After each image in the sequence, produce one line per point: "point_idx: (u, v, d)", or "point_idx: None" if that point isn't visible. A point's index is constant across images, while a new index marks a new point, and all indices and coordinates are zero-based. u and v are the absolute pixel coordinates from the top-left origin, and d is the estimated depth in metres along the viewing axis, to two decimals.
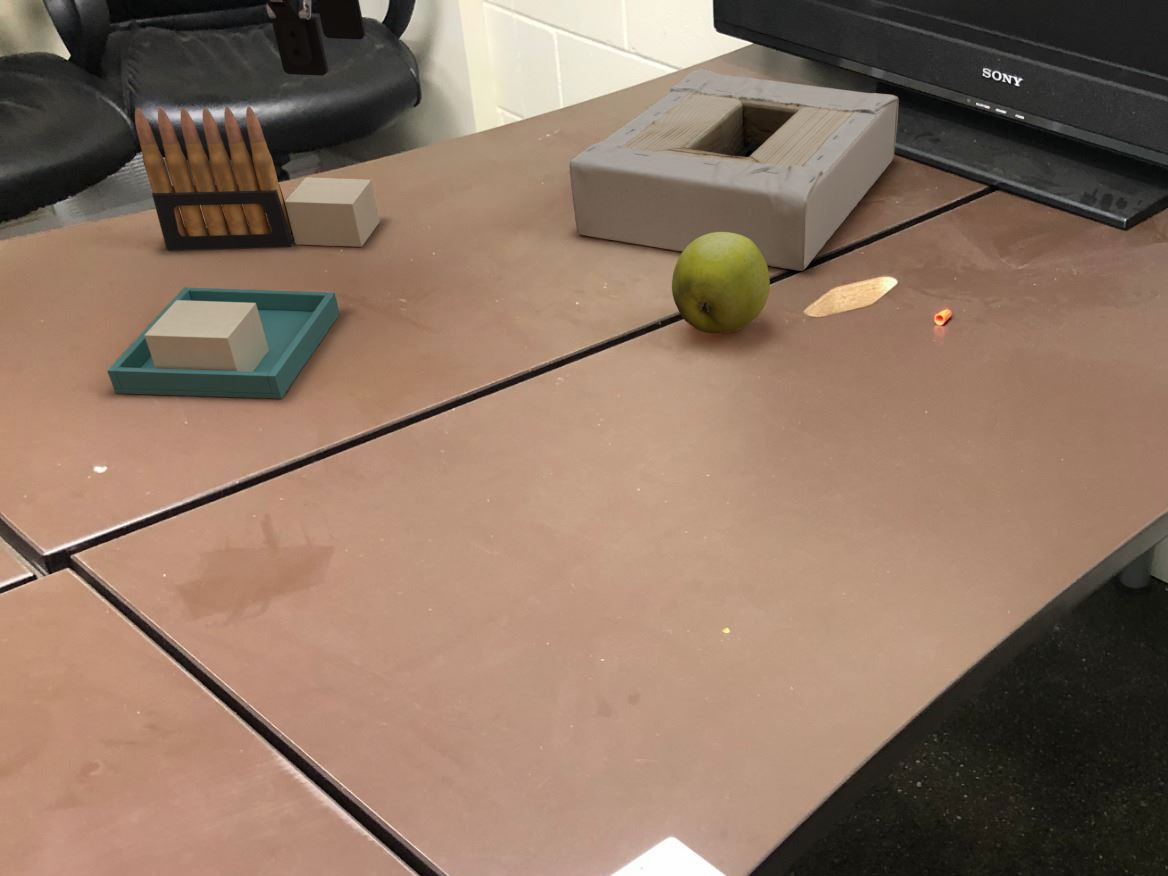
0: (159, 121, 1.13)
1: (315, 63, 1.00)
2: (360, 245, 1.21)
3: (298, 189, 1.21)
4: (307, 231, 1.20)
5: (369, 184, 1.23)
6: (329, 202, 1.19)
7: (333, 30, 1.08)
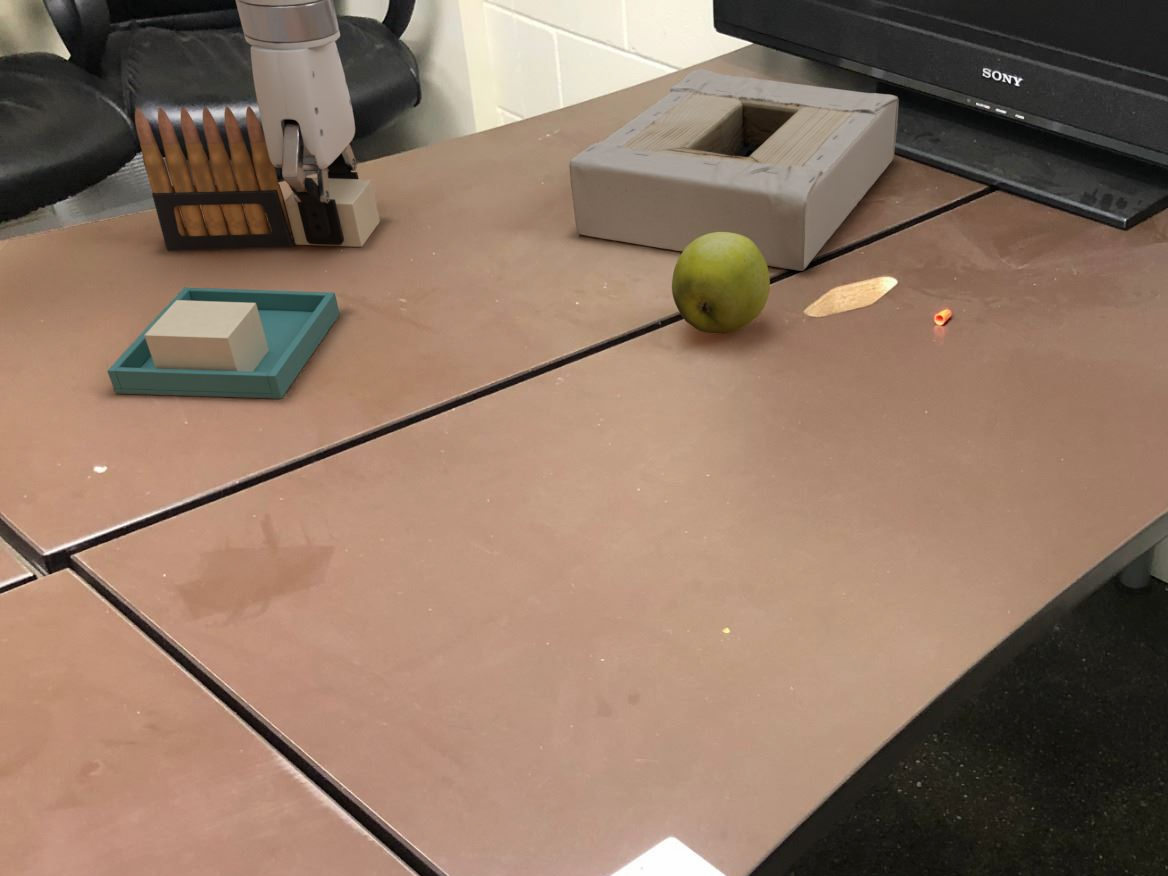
0: (159, 121, 1.13)
1: (333, 235, 1.20)
2: (360, 245, 1.21)
3: None
4: None
5: (369, 184, 1.23)
6: None
7: None
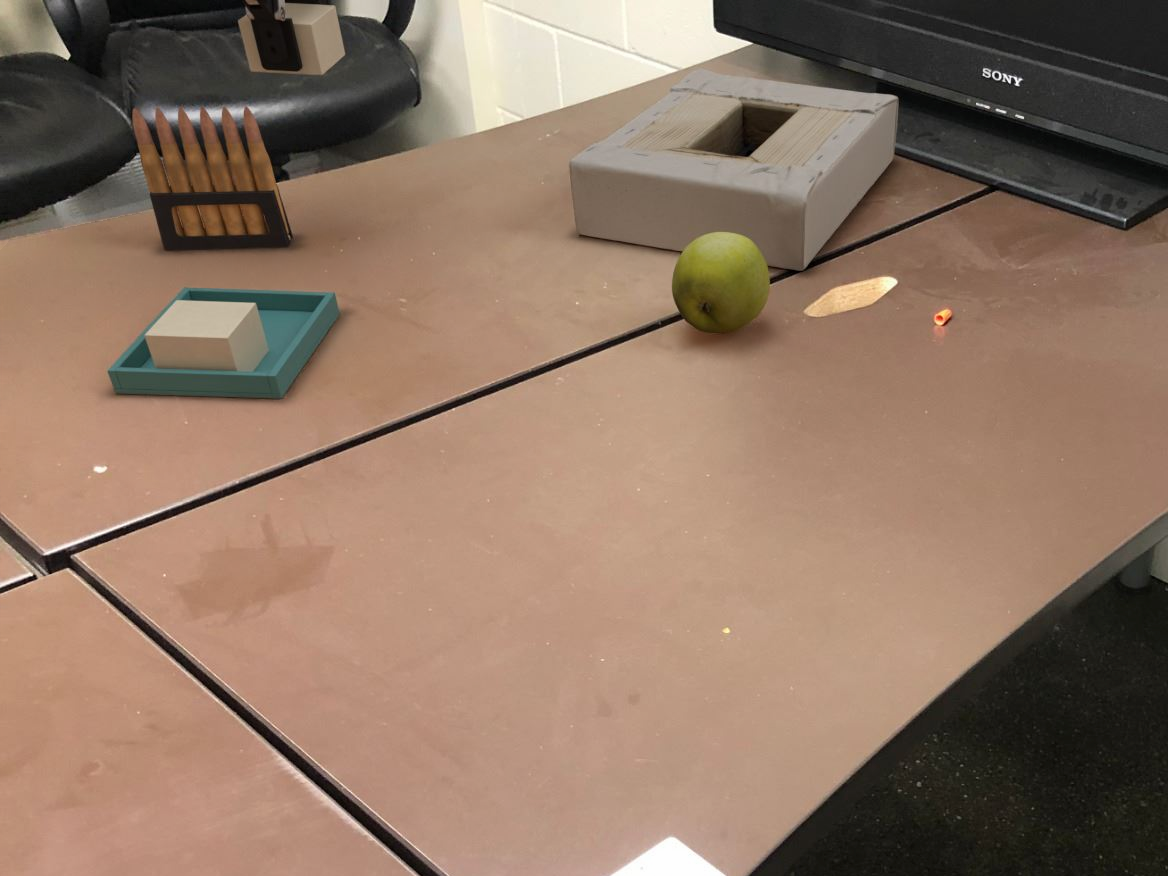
0: (156, 121, 1.13)
1: (290, 60, 1.10)
2: (320, 73, 1.12)
3: None
4: None
5: (333, 9, 1.13)
6: None
7: None
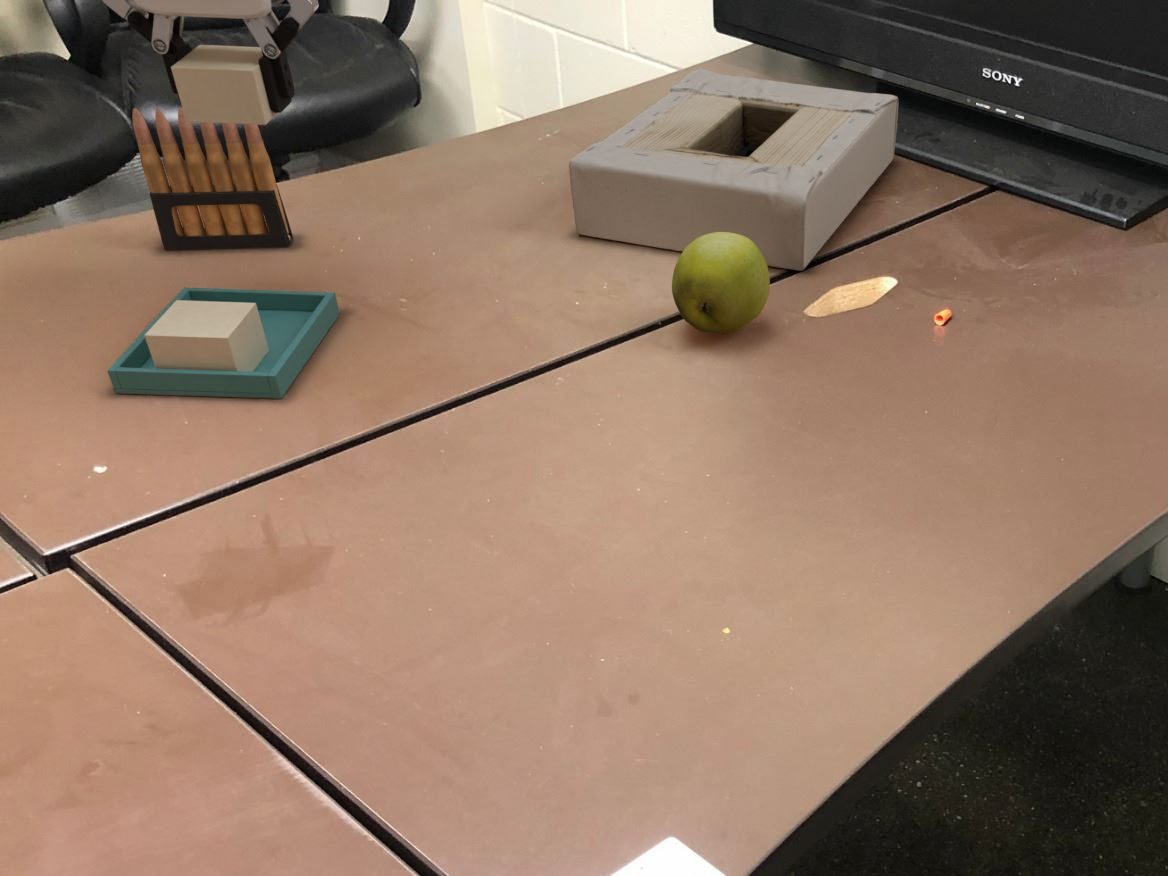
0: (156, 121, 1.13)
1: None
2: (186, 119, 1.02)
3: (236, 47, 1.04)
4: None
5: (243, 72, 1.00)
6: (183, 59, 1.01)
7: None
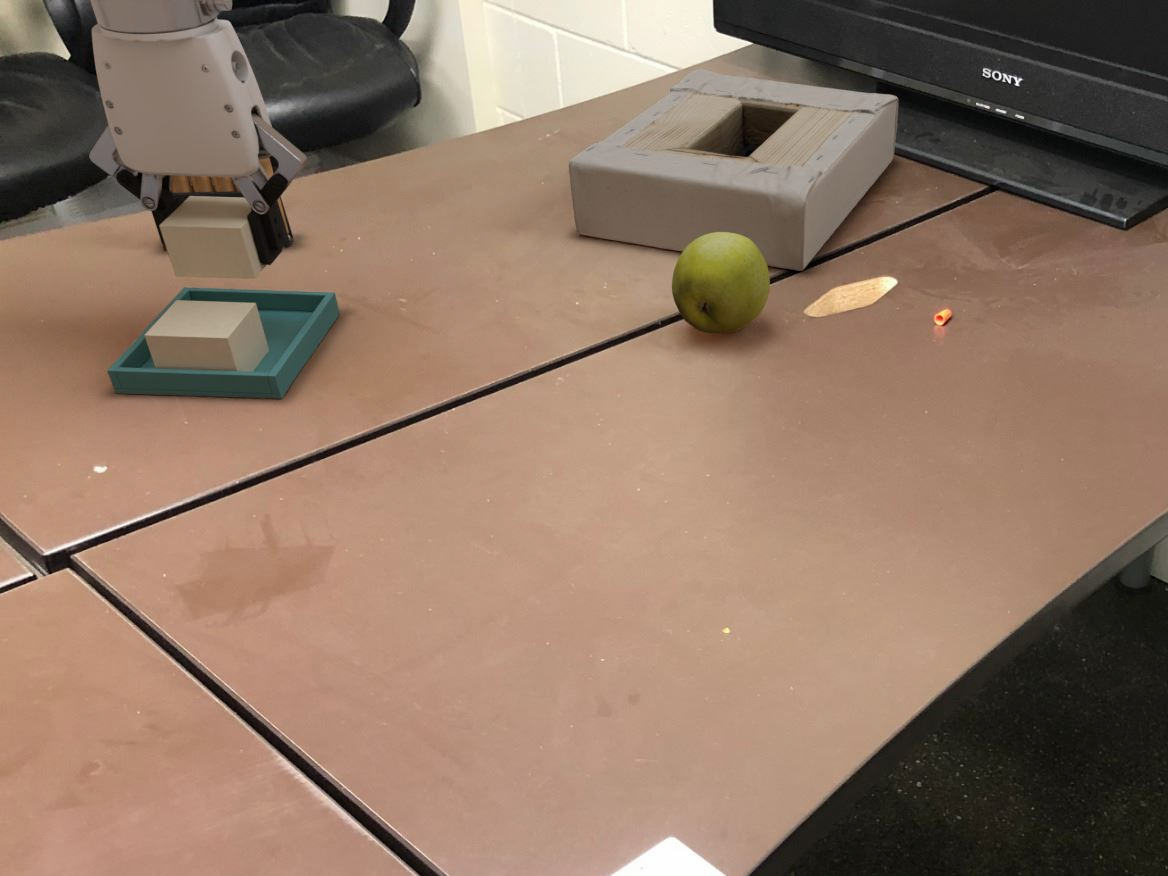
0: None
1: None
2: (175, 274, 1.01)
3: (226, 198, 1.03)
4: None
5: (231, 229, 0.99)
6: (172, 214, 1.00)
7: None
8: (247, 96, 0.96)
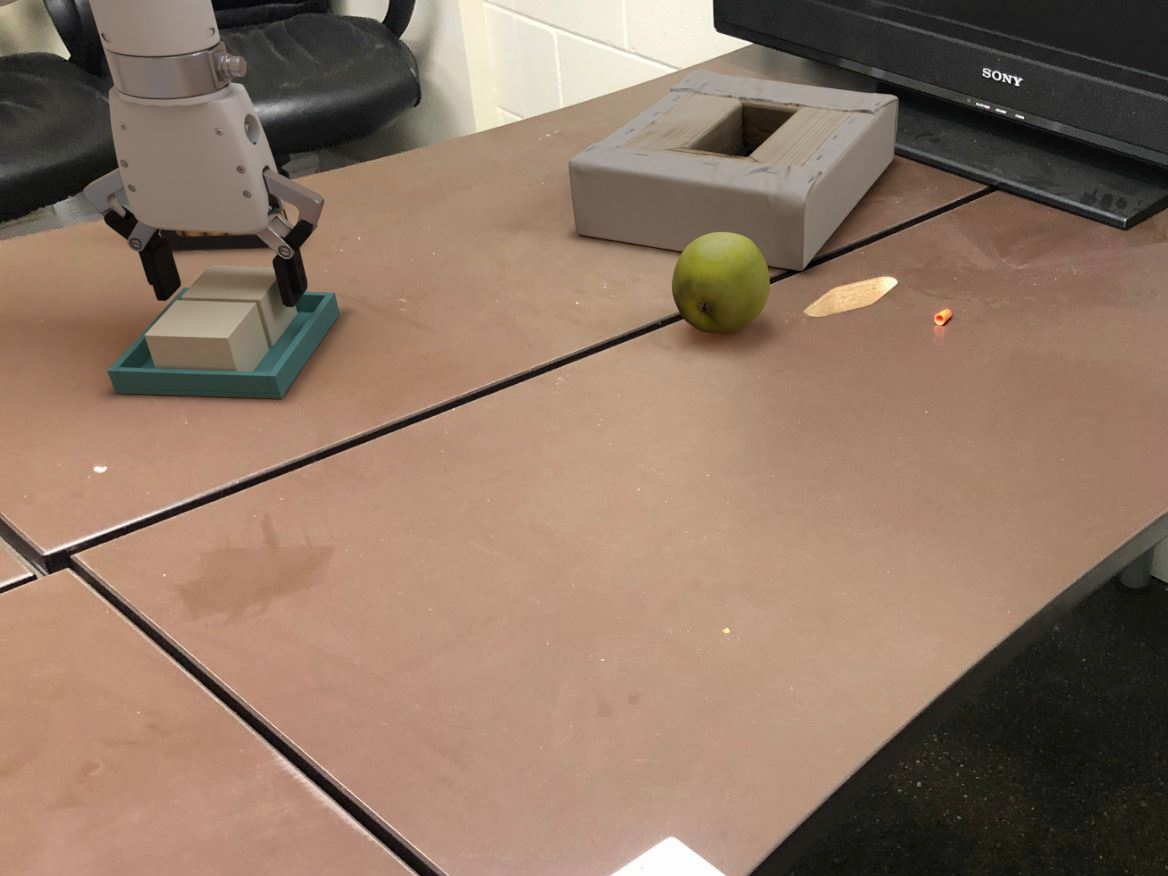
0: None
1: None
2: None
3: (245, 267, 1.07)
4: None
5: (250, 301, 1.03)
6: (193, 285, 1.04)
7: None
8: (259, 157, 0.98)
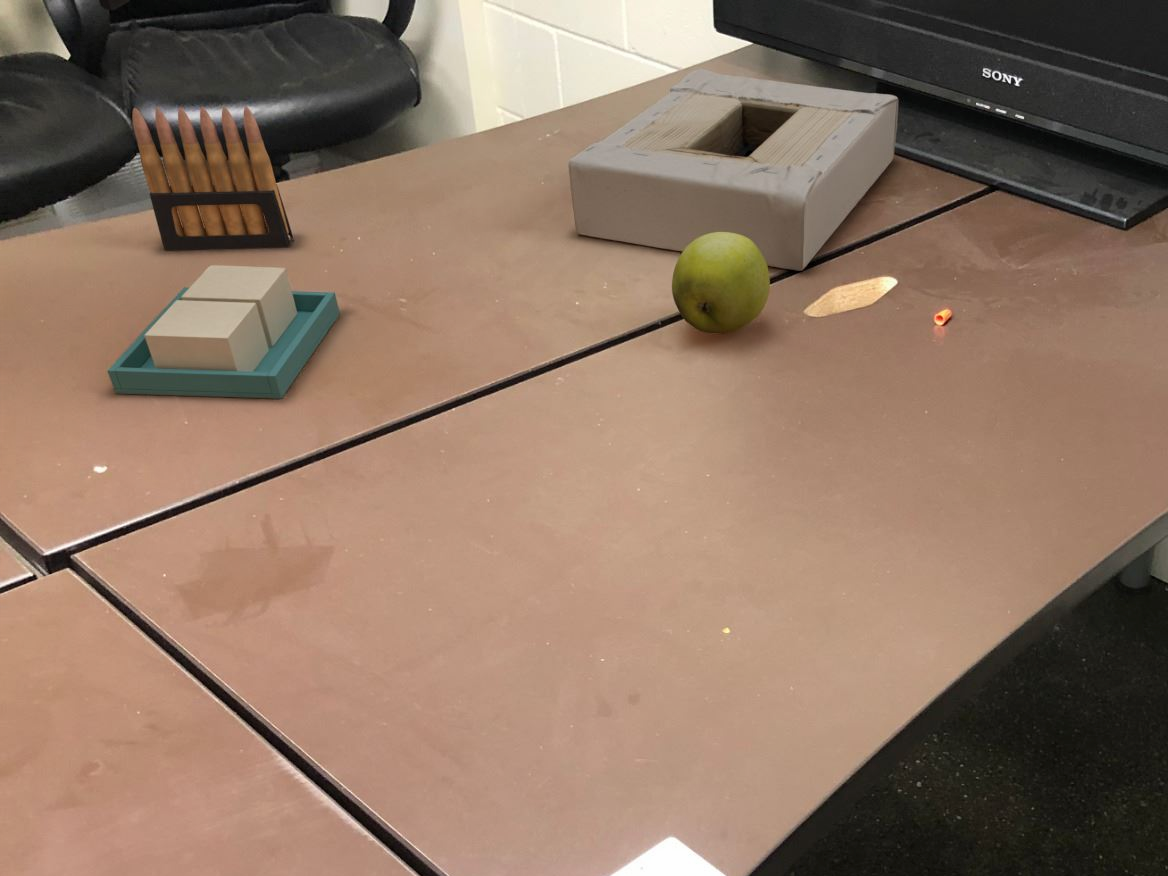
0: (156, 121, 1.13)
1: None
2: None
3: (245, 267, 1.07)
4: None
5: (250, 301, 1.03)
6: (193, 285, 1.04)
7: None
8: None
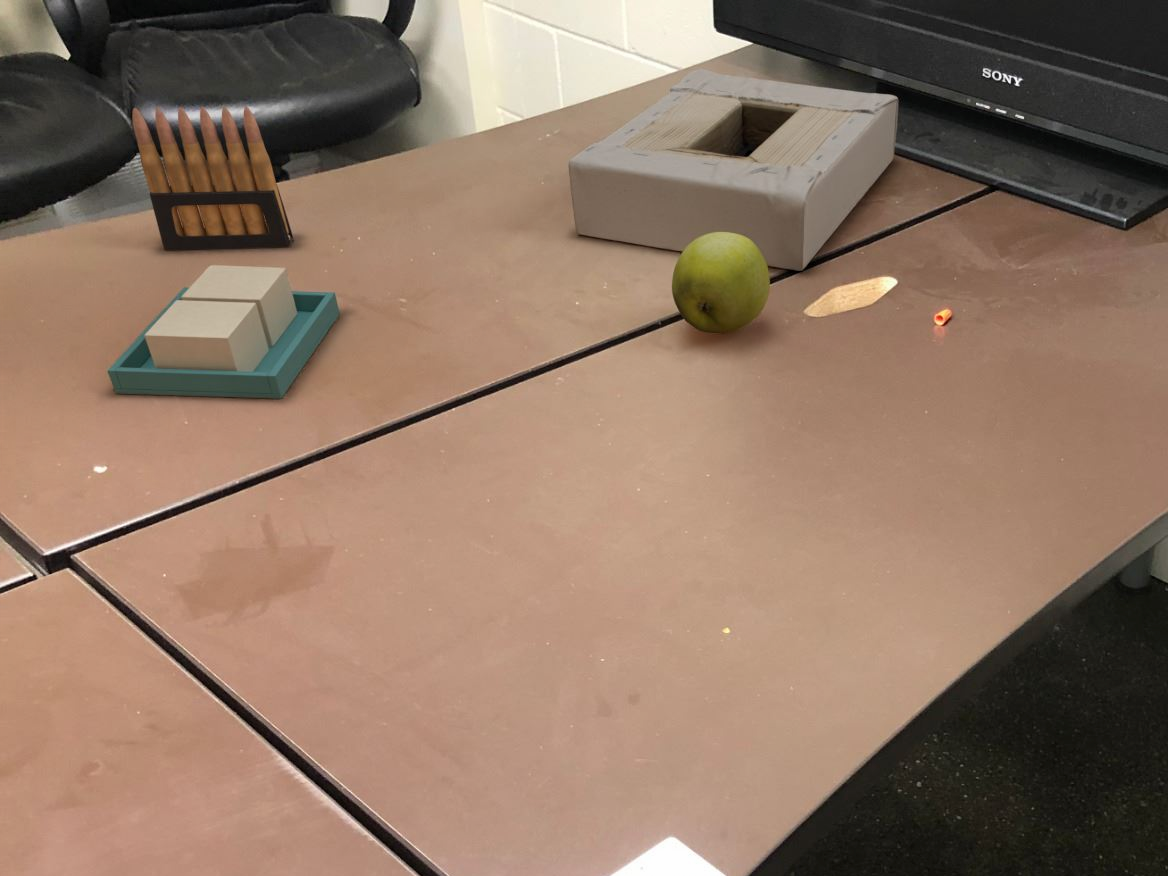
0: (156, 121, 1.13)
1: None
2: None
3: (245, 267, 1.07)
4: None
5: (250, 301, 1.03)
6: (193, 285, 1.04)
7: None
8: None
